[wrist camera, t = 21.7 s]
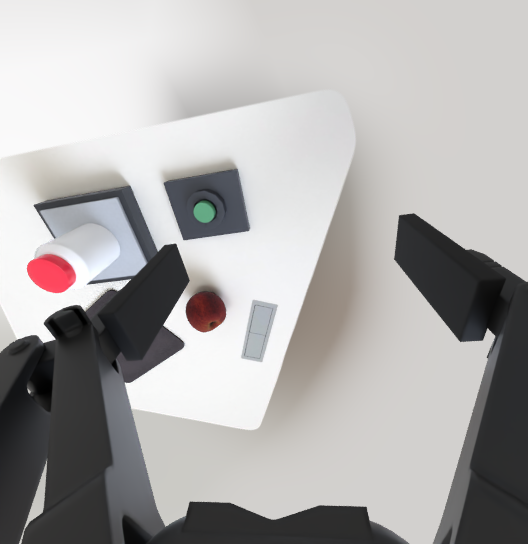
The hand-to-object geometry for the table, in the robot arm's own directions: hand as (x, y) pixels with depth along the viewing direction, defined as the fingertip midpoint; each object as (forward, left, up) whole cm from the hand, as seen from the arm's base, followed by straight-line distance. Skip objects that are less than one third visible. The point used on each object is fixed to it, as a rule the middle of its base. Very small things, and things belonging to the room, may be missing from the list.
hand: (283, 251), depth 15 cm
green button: (+8, -11, -26) cm, 29 cm away
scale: (+18, -29, -28) cm, 44 cm away
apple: (+28, -9, -29) cm, 41 cm away
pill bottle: (+18, -29, -25) cm, 42 cm away
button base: (+8, -11, -28) cm, 31 cm away
